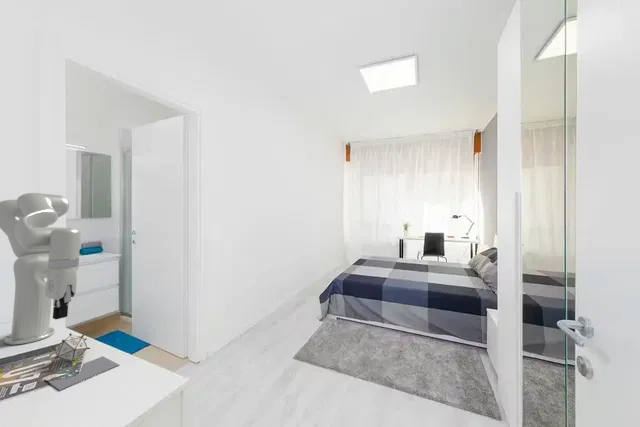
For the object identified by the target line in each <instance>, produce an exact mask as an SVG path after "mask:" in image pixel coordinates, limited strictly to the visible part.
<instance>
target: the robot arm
mask: <svg viewBox="0 0 640 427" xmlns="http://www.w3.org/2000/svg"><path fill="white" fill-rule="evenodd" d="M69 209H70V204H69V201H68V199H67V198H66V197H65V196H63V195H60V194H50V193H39V192H30V193H29V192H28V193H24V194H21V195H19V196H18V197H17V199H5V200H1V201H0V230H1V231H2V232H3V233H4V234H5V235H6V236H7V238H8V241H9V244H10V246H11V249H12V252H13V253H14V256H15V257H16V259H15V261H14V263H13V267H12V268H13V274H14V283H15V285H14V288H15V290H14V300H13V301H14V302H13V310H12V311H13V314H12V325H11V334H9V335H8V336H6V337H4V341H3V342H4V344H5V345H10V346H11V345H22V344H29V343H33V342H37V341H41V340H44V339H46V338H49V337H51V336H52V335H54V334H55V328H53V327H50V323H51V322H50V321H51V311H52V310H53V311H52V319H54V320H59V319H60V320H61V319H63V318H67V317H68V314H69V305H70V303H71V301H72V298H73V297H75V296H76V295H77V294H76V293H77V276H78V275H77V271H78V269H79V266H80V263H79V262H80V248H81V236H82V235H81V234H82V233H81V230H80V229H78V228H71V227H53V226H52V225H54V224H55V223H56V222H57V221H58V219H59V218H60V217H62V216H64V215H66V214H67V213H68V211H69ZM50 226H51V227H50ZM45 279H46V281H45ZM52 302H53V307H52ZM52 308H53V309H52Z"/></svg>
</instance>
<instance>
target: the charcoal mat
mask: <svg viewBox="0 0 640 427" xmlns="http://www.w3.org/2000/svg"><path fill="white" fill-rule="evenodd" d="M82 364H83V366H82V368H81V371H80V374H77V375H76V376H75V377H74V376H73V377H72V378H67V379H61V380H60V379H59V380H54V381H50V382H49V383H50V384H49V383H48V384H49V385H50V386H52V387H53V388H55V389H56V390H58V391H59V392H61V391H63V390H66V389H68V388H70V387H73V386H75V385H77V384H80V383H82V382H84V381H87V380H88V378H89V379H91V378H94V377H96V376H98V374H99V375H101V374H103V373H105V371H106V372H108V371H110V370H112V368H113V369H114V367H115V368H118V367H119V366H120V364H119V363H117V362H115V361H113V360H111V359H109V358H107V357H106V356H100V357H97V358H95V359H92V360H89V361H87V362H85V363H84V362H83V363H82ZM107 370H108V371H107ZM100 373H101V374H100ZM95 375H96V376H95ZM93 376H94V377H93ZM90 377H91V378H90ZM86 379H87V380H86ZM83 380H84V381H83ZM81 381H82V382H81ZM79 382H80V383H79ZM76 383H77V384H76ZM74 384H75V385H74ZM72 385H73V386H72Z"/></svg>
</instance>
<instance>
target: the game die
mask: <svg viewBox="0 0 640 427" xmlns="http://www.w3.org/2000/svg"><path fill="white" fill-rule="evenodd" d="M84 337H85V334H83V335H81V336H80V335H79V336H78V335H73V334H72V333H71V332H70V333H69V336H68V337H67V338H66V339H61V342H60V343H59V344H58V345H56V346H51V349H54V350H55V355H56V356H54V358H53V359H54V360H57V359H58V360H61V361H68V362H72V361H75V360H76V359H77V358H78V357H80V356H81V355H80V354H83V353H84V352H85V351H87V350H90V349H91V348H90V347H88V346H87V343H86V340H87V339H88V338H84ZM79 355H80V356H79Z"/></svg>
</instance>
